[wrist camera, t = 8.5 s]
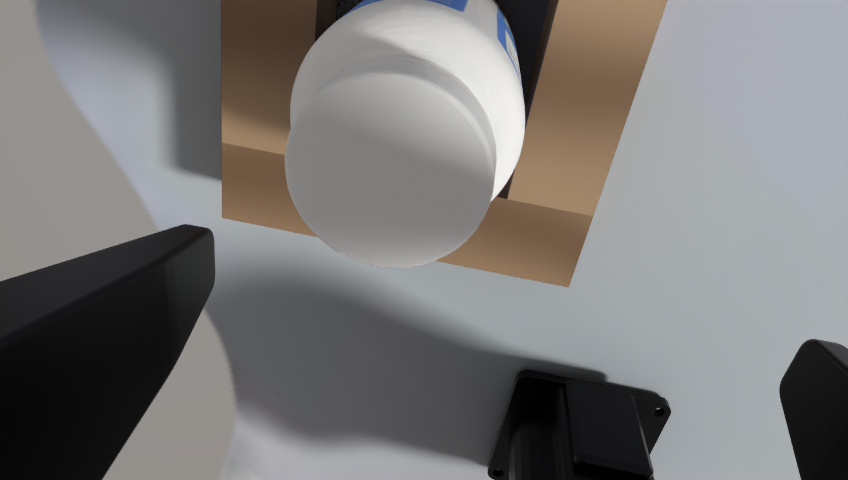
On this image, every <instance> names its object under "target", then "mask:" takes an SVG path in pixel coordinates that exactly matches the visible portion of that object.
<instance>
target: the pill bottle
mask: <svg viewBox="0 0 848 480" xmlns="http://www.w3.org/2000/svg"><path fill="white" fill-rule="evenodd" d="M290 124H291V130H290V132H289V136H288V140H287V144H286V150H285V175H286V180H287V186H288V190H289V193H290V195H291V199H292V201H293V203H294V205H295V207H296V209H297V211H298V213H299V215H300V216H301V218H302V219H303V221H304V222H305V223H306V225H307V226H308V227H309V228H310V229H311V230H312V232H313V233H314V234H316V235H317V236H318V237H319V238H320V239H321V240H322V241H323V242H325V243H326V244H327V245H328V246H329V247H331V248H332V249H334V250H335V251H337V252H339V253H341V254H343V255H345V256H347V257H349V258H351V259H353V260H356V261H359V262H361V263H364V264H368V265H372V266H379V267H386V268H408V267H415V266H419V265H424V264H428V263H430V262H433V261H435V260H438V259H440V258H442V257H444V256H446V255H448V254H450V253H452V252H453V251H455V250H456V249H457V248H459V247H460V246H461V245H462V244H463V243H465V242H466V241H467V240H468V239H469V238H470V237H471V236H472V234H473V233H474V232H475V231H476V230H477V228H478V227H479V225H480V224H481V222H482V220H483V219H484V217H485V215H486V212H487V210H488V208H489V205H490V202H491V201H492V200H493V199H494V198H495V197H496V196H497V195H498V194H499V192H500V191H501V190H502V188H503V187H504V186H505V184H506V183H507V181H508V180H509V178H510V176H511V175H512V173H513V171H514V168H515V166H516V164H517V162H518V159H519V156H520V153H521V149H522V145H523V140H524V133H525V105H524V97H523V90H522V83H521V74H520V68H519V62H518V55H517V49H516V44H515V39H514V36H513V32H512V30H511V27H510V24H509V22H508V20H507V18H506V16H505V14H504V13H503V11H502V9H501V8H500V7H499V5H498V4H497V2H496V1H495V0H363V1H362V2H360V3H359V4H358V5H357V6H355V7H354V8H353V9H351V10H350V11H349V12H347V13H346V14H345V15H344V16H342V17H341V18H340V19H339V20H337V21H336V22H335V23H334V24H333V25H332V26H330V27H329V28H328V29H327V30H326V31H325V32H324V33H323V34H322V35H321V36H320V38H319V39H318V40H317V41H316V42H315V43H314V45H313V46H312V47H311V48H310V50H309V52H308V53H307V55H306V56H305V58H304V60H303V62H302V64H301V66H300V68H299V71H298V73H297V76H296V79H295V82H294V86H293V89H292V95H291V103H290Z"/></svg>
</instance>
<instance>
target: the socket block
mask: <svg viewBox="0 0 848 480" xmlns="http://www.w3.org/2000/svg"><path fill="white" fill-rule="evenodd" d="M337 1H338V0H221V101H222V218H226V219H231V220H236V221H241V222H246V223H251V224H256V225H261V226H266V227H271V228H276V229H281V230H286V231H291V232H295V233H300V234H305V235H310V236H315V237H318V236H317V235H316V234H314V233H313V232H312V230H311V229H310V228H309V227H308V226H307V225H306V223H305V222H304V221H303V219H302V218H301V216H300V215H299V213H298V211H297V209H296V207H295V205H294V203H293V201H292V199H291V195H290V193H289V190H288V186H287V180H286V175H285V150H286V144H287V140H288V136H289V132H290V130H291V124H290V103H291V95H292V89H293V86H294V82H295V79H296V76H297V73H298V71H299V68H300V66H301V64H302V62H303V60H304V58H305V56H306V55H307V53H308V52H309V50H310V48H311V47H312V46H313V45H314V43H315V42H316V41H317V40H318V39H319V38H320V36H321V35H322V34H323V33H324V32H325V31H326V30H327V29H328V28H329V27H330V26H332V25H333V24H334V23H335V22H336V13H337ZM667 1H668V0H549V3H548V7H547V11H546V15H545V19H544V23H543V27H542V31H541V35H540V39H539V43H538V47H537V51H536V55H535V59H534V63H533V67H532V71H531V75H530V79H529V83H528V87H527V91H526V95H525V98H524V105H525V133H524V140H523V145H522V149H521V153H520V156H519V159H518V162H517V164H516V166H515V168H514V171H513V173H512V175H511V176H510V178H509V180H508V181H507V183H506V184H505V186H504V187H503V188H502V190H501V191H500V192H499V194H498V195H497V196H496V197H495V198H494V199H493V200H492V201H491V202H490V205H489V208H488V210H487V212H486V215H485V217H484V219H483V220H482V222H481V224H480V225H479V227H478V228H477V230H476V231H475V232H474V233H473V234H472V236H471V237H470V238H469V239H468V240H467V241H466V242H465V243H463V244H462V245H461V246H460V247H459V248H457V249H456V250H455V251H453V252H452V253H450V254H448V255H446V256H444V257H442V258H440V259H438V260H435V261H440V262H445V263H450V264H455V265H460V266H465V267H470V268H475V269H480V270H485V271H490V272H495V273H500V274H505V275H510V276H515V277H520V278H524V279H529V280H534V281H539V282H544V283H549V284H554V285H559V286H564V287H569V285H570V282H571V279H572V276H573V273H574V270H575V267H576V264H577V261H578V259H579V256H580V253H581V250H582V247H583V244H584V241H585V238H586V235H587V232H588V230H589V227H590V224H591V221H592V218H593V215H594V212H595V209H596V206H597V204H598V201H599V198H600V195H601V192H602V189H603V186H604V183H605V180H606V177H607V175H608V172H609V169H610V166H611V163H612V160H613V157H614V154H615V151H616V148H617V146H618V143H619V140H620V137H621V134H622V131H623V128H624V125H625V122H626V119H627V117H628V114H629V111H630V108H631V105H632V102H633V99H634V96H635V93H636V90H637V88H638V85H639V82H640V79H641V76H642V73H643V70H644V67H645V64H646V62H647V59H648V56H649V53H650V50H651V47H652V44H653V41H654V38H655V35H656V33H657V30H658V27H659V24H660V21H661V18H662V15H663V12H664V9H665V6H666V4H667Z"/></svg>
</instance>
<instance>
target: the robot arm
mask: <svg viewBox="0 0 848 480" xmlns="http://www.w3.org/2000/svg"><path fill="white" fill-rule="evenodd" d="M214 281H215V252H214V236H213V233H212V231H211V230H210V229H208V228H205V227H199V226H194V225H188V224H183V225H180V226H177V227H173V228H170V229H167V230H164V231H161V232H157V233H154V234H151V235H148V236H145V237H141V238H138V239H135V240H132V241H129V242H125V243H122V244H119V245H116V246H113V247H109V248H106V249H103V250H100V251H97V252H93V253H90V254H87V255H84V256H81V257H77V258H74V259H71V260H68V261H65V262H61V263H59V264H55V265H52V266H49V267H45V268H42V269H39V270H36V271H33V272H29V273H26V274H23V275H20V276H17V277H13V278H10V279H7V280H4V281H1V282H0V480H102V479H103V477H104V476H105V474H106V473H107V471H108V469H109V468H110V466H111V465H112V463H113V462H114V460H115V459H116V457H117V456H118V454H119V453H120V451H121V449H122V448H123V446H124V445H125V443H126V442H127V440H128V439H129V437H130V435H131V434H132V432H133V431H134V429H135V428H136V426H137V425H138V423H139V422H140V420H141V418H142V417H143V415H144V414H145V412H146V411H147V409H148V408H149V406H150V405H151V403H152V401H153V400H154V398H155V397H156V395H157V394H158V392H159V390H160V389H161V387H162V386H163V384H164V383H165V381H166V379H167V378H168V376H169V375H170V373H171V371H172V370H173V368H174V366H175V364H176V362H177V360H178V358H179V357H180V354H181V352H182V350H183V348H184V346H185V344H186V342H187V340H188V338H189V336H190V334H191V332H192V330H193V328H194V326H195V324H196V322H197V319H198V318H199V316H200V313H201V311H202V309H203V307H204V305H205V303H206V301H207V299H208V297H209V295H210V293H211V291H212V288H213V285H214ZM525 381H530V382H532V383H529V384H526V383H523V382H525ZM779 390H780V399H781V403H782V407H783V411H784V415H785V419H786V423H787V426H788V430H789V434H790V438H791V442H792V446H793V450H794V454H795V458H796V462H797V466H798V470H799V473H800V477H801V480H848V349H847V348H846V347H844V346H842V345H840V344H838V343H834V342H828V341H823V340H817V339H810V340H807V341H806V342H804V343H803V344H802V345H801V347H800V348H799V350H798V352H797V354H796V355H795V357H794V359H793V361H792V362H791V364H790V366H789V368H788V369H787V371H786V373H785V374H784V376H783V378H782V380H781V383H780V389H779ZM655 408H660V409H658V410H654V409H655ZM670 413H671V410H670V407H669V404H668V401H667V400H666V399H665V398H663V397H659V396H655V395H650V394H645V393H640V392H635V391H630V390H625V389H620V388H615V387H610V386H605V385H600V384H596V383H591V382H586V381H581V380H576V379H571V378H566V377H561V376H556V375H551V374H546V373H542V372H537V371H532V370H524V371H521V372H519V373H518V374H517V376H516V378H515V381H514V384H513V387H512V390H511V393H510V397H509V400H508V403H507V406H506V409H505V412H504V415H503V418H502V422H501V425H500V428H499V431H498V434H497V437H496V440H495V443H494V446H493V450H492V453H491V456H490V459H489V462H488V475H489V477H491V478H492V479H494V480H654V476H653V467H652V463H651V460H650V456H649V455H650V453H651V451H652V449H653V447H654V445H655V443H656V441H657V439H658V437H659V435H660V434H661V432H662V430H663V428H664V426H665V424H666V422H667V420H668V418H669V416H670ZM497 469H500V470H497Z"/></svg>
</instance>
